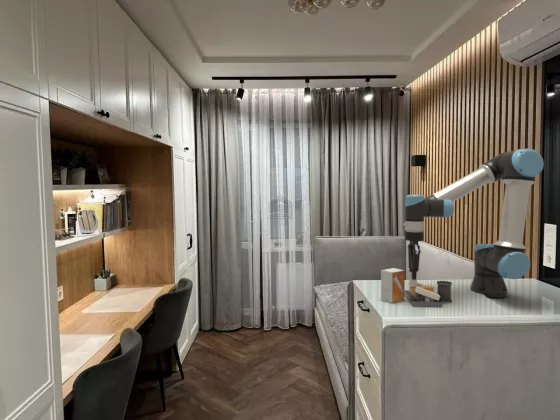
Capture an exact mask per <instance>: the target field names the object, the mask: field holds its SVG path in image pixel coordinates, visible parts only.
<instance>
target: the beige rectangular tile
mask: <svg viewBox="0 0 560 420" xmlns="http://www.w3.org/2000/svg"><path fill="white" fill-rule="evenodd" d="M415 291H416V292H417V293H419V294H422V295H424V296H427V297H430V298H433V299H435V300H438V301H439V298H440V295H439V294H438V292H437V293H436V292H435V291H434V292H431V291H429V290H426V289H423V288H420V287H418V286H416V289H415Z"/></svg>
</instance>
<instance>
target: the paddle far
mask: <svg viewBox="0 0 560 420" xmlns="http://www.w3.org/2000/svg"><path fill="white" fill-rule="evenodd" d="M408 285H409V286H410V281H408ZM427 285H428V284H423V283H421V282H418V281H417V286H427Z"/></svg>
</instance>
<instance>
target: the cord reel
mask: <svg viewBox="0 0 560 420" xmlns="http://www.w3.org/2000/svg"><path fill="white" fill-rule="evenodd" d="M436 284H437V294H439V295H440V298H439V300H440V301H441V302H442V304H451V303H452V301H453V300H452V291H451V290H452V285H453V282H451V281H448V280H437V281H436Z"/></svg>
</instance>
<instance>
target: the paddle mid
mask: <svg viewBox="0 0 560 420" xmlns="http://www.w3.org/2000/svg"><path fill="white" fill-rule="evenodd" d="M426 285H427V286H418V287H420V288H423V289H426V290H429V291H431V292H434V293H435V290H434V286H433V285H432V284H430V285H429V284H426ZM415 289H416V287H410V286H409V290H410V292H411V293H417V292H416V291H415Z"/></svg>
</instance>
